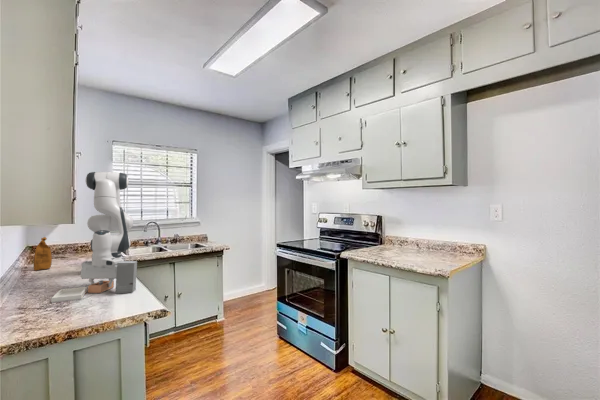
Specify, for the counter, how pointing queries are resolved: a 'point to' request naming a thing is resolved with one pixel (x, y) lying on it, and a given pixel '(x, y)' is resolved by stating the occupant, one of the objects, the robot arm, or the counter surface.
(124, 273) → the skincare box
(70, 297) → the tray
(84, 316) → the counter surface
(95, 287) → the brown open box
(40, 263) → the coffee package
